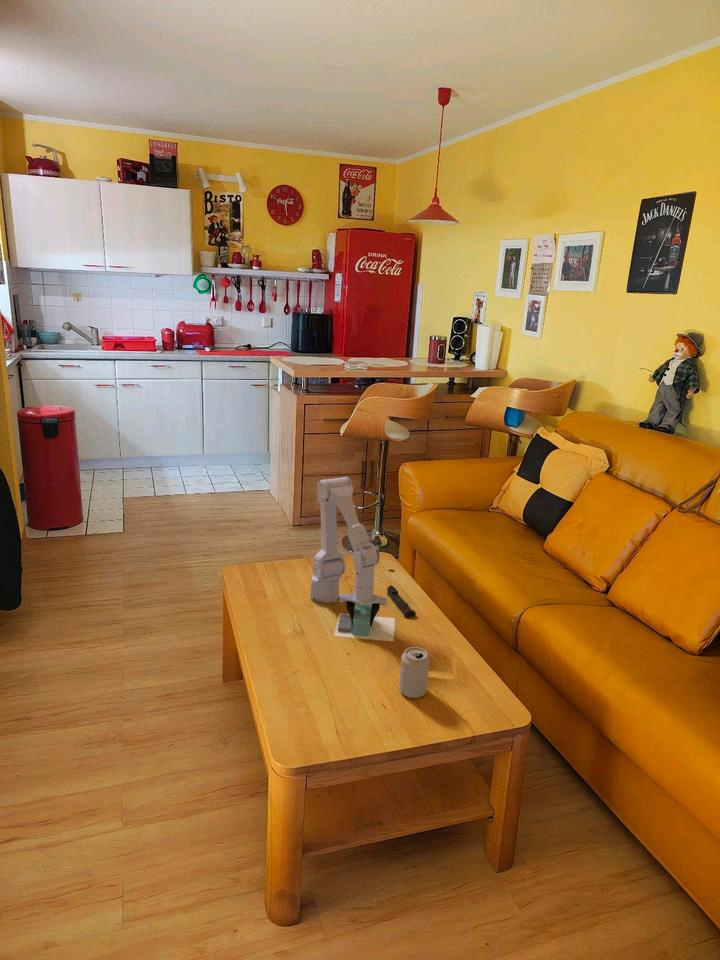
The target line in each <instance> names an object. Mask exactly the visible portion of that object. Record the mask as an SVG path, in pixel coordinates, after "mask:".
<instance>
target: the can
mask: <svg viewBox="0 0 720 960" xmlns="http://www.w3.org/2000/svg"><path fill="white" fill-rule="evenodd" d="M430 659H431V658H430V656H429V653H428V651H426V650H425V649H424V648H422V647H418V646H411V647H408V648H405V650H404V651H403V653H402V655H401V661H400V672H399V673H400V675H399V681H398V682H399V684H398V688H399V691H400V693H401V694H402V695H404V696H405V697H406V696H407V698H409V699H419V698H421V697H423V696H425V695H426V693H427V692H428V682H429V675H430V674H429V671H430V664H431V663H430V662H431V660H430Z"/></svg>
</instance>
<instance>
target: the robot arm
mask: <svg viewBox="0 0 720 960" xmlns="http://www.w3.org/2000/svg"><path fill="white" fill-rule="evenodd" d="M316 491H317V492H316V493H317V495H316V496H317V502H318V503H319V505H320V506H319V507H320V508H319V509H320V533H321V537H320V538H321V541H320V542H321V549H320V550H319V551H318V552H317V553H316V554H315V555H314V557H313V563H312V572H313V573H312V574H313V575H312V577H311V582H310V593H309V595H310V601H312V602H313V601H314V602H321V603H327V604H330V603H335V602H337V601H338V600H339V603H345V607H346V610H347V612H348V614H350V617H351V622H352V625H353V618H354V612H355V607H356V603H359V605H366V604H372V607H371V619H370V626H372V623H373V620H374V618H375V616H376V615H377V614H378V612H379V611H380V608H381V607H380V606H383V607H387V606H388V597H383V596H380V595H376V594H374V586H375V584H374V583H375V572H376V571H375V570H376V565H377V564H379V562H380V551H379V550H378V548H377V546H375V545H374V543H373V542H371V540H370V537H369V535H368V533H367V529H366V528H365V525H363V524H362V523H360V521H359V519H358V515H357V513H356V512H357V511H356V508H355V505H354V502H353V494H354V487H353V483H352V480H351V478H350V477H348V476H343V477H336V478H328V479H320V481H319V482H318V483H317V485H316ZM337 506H338V508H339V511H340V513H341V515H342V516H343V519H344V521H345V523H346V525H347V529H346V534H347V538H348V541H349V543H350V546H351V548H352V551H353V554H352V556H351V557H352V561H353V565H354V566H353V568H354V571H355V578H354V579H355V580H354V592H353V593H340V579H341V578H342V577H343V575H344V574H345V573H346V569H347V566H346V563H345V558H344V557H345V555H344V554H343V552H341V551H340V550H339V549H338V530H337V529H338V525H337V522H338V521H337ZM376 617H377V616H376Z"/></svg>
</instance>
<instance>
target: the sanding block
mask: <svg viewBox="0 0 720 960" xmlns="http://www.w3.org/2000/svg"><path fill="white" fill-rule="evenodd" d="M371 607H372V604H366V605H359V603H355V612H354V618H353V632H352V635H360V636H369V630H370V619H371Z"/></svg>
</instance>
